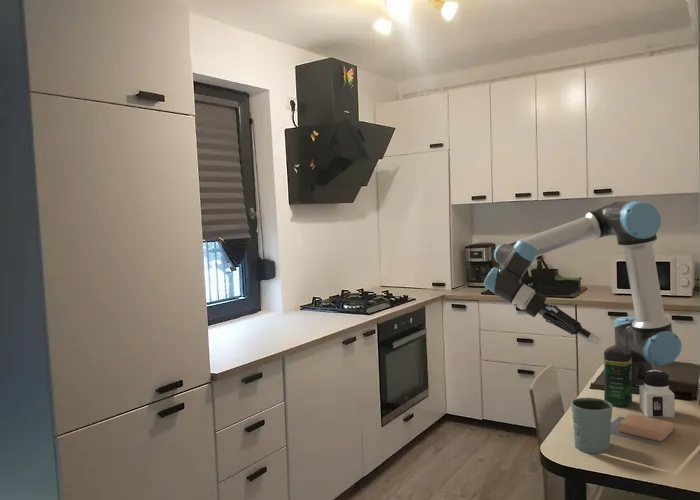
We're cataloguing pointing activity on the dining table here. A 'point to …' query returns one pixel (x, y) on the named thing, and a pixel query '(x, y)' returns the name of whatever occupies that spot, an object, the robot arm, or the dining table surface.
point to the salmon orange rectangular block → (646, 427)
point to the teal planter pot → (592, 424)
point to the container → (656, 395)
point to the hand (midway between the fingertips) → (598, 342)
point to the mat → (615, 431)
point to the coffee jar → (618, 376)
